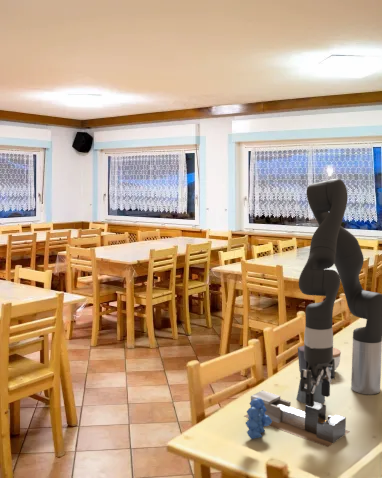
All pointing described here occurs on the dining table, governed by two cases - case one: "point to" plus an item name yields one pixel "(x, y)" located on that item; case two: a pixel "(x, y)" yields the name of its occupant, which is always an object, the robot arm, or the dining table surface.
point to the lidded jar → (336, 357)
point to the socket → (332, 428)
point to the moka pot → (317, 393)
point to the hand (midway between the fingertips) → (317, 400)
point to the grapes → (257, 418)
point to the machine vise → (275, 416)
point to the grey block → (304, 416)
